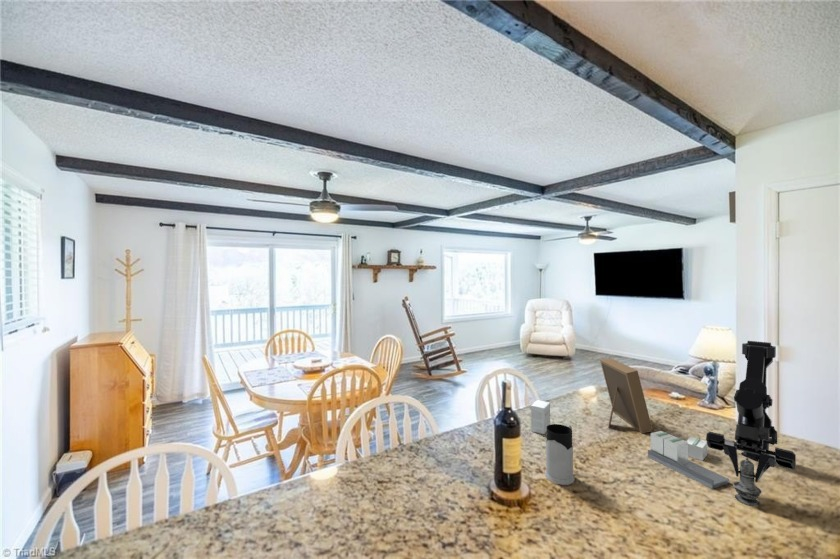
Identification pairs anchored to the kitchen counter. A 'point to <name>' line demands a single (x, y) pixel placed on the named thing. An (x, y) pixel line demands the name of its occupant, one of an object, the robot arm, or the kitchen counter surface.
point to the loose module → (697, 448)
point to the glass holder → (559, 454)
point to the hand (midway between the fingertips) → (746, 478)
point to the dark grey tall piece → (747, 484)
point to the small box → (540, 416)
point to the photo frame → (626, 394)
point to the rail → (699, 470)
